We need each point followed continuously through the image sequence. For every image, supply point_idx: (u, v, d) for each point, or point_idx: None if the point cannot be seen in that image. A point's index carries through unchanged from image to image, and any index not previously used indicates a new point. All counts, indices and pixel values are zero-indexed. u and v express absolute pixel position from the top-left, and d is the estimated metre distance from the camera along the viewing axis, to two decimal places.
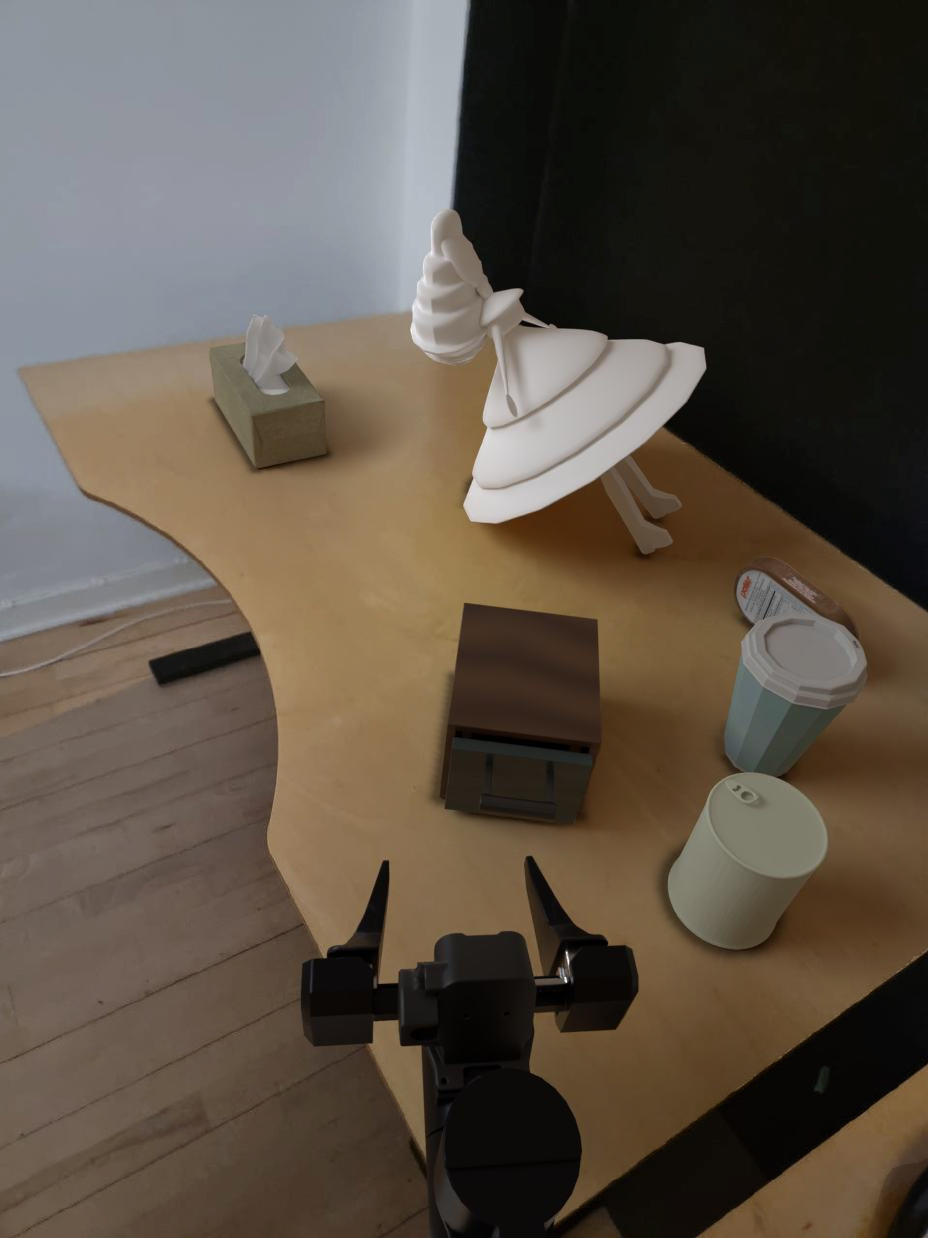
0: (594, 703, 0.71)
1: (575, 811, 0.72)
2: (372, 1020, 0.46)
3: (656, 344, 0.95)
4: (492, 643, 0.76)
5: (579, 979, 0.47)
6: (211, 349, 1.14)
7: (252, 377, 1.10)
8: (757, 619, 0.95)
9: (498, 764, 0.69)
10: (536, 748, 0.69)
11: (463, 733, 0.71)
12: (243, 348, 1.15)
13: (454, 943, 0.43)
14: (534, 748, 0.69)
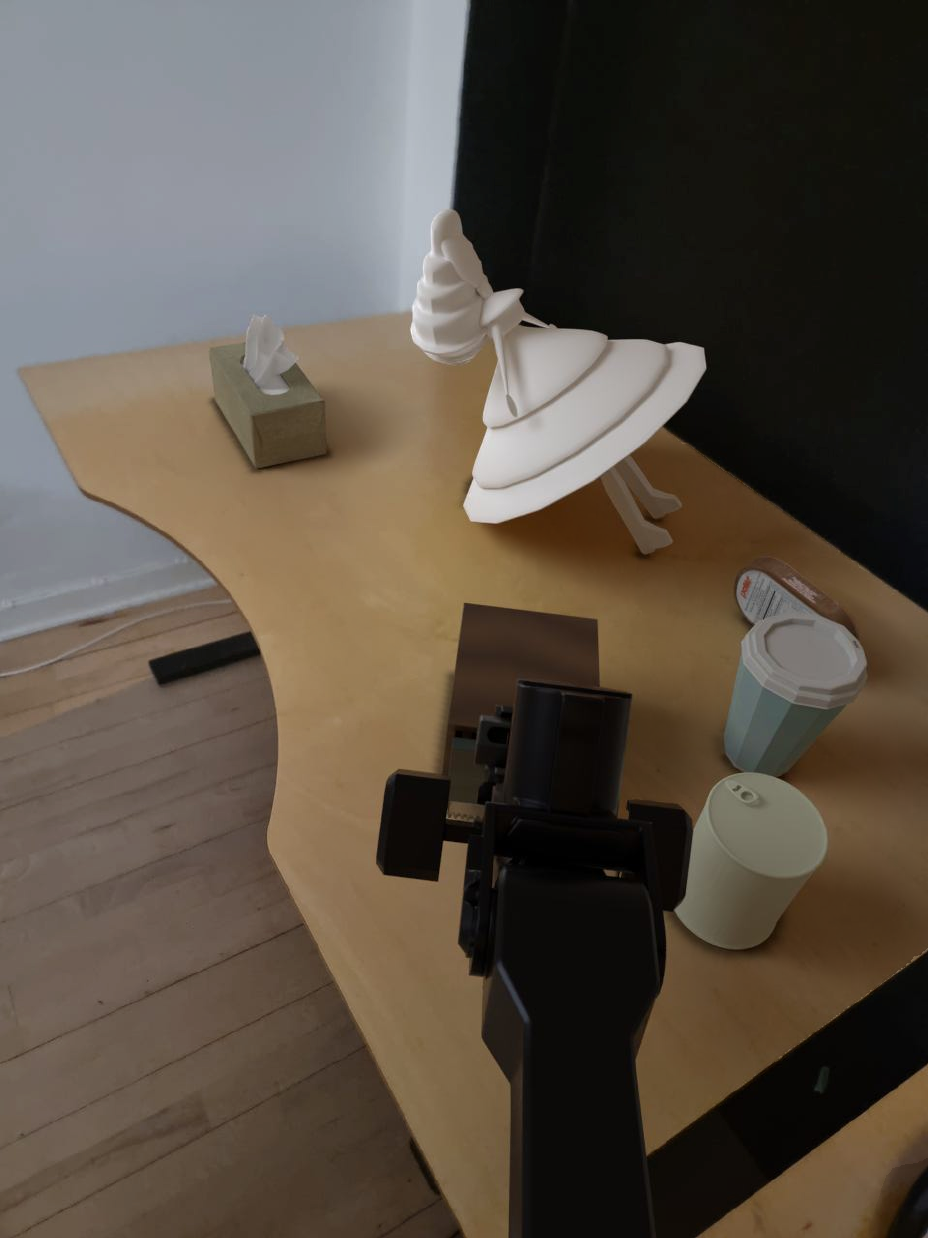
0: None
1: None
2: (445, 813, 0.50)
3: (656, 344, 0.95)
4: (492, 643, 0.76)
5: (635, 804, 0.51)
6: (211, 349, 1.14)
7: (252, 377, 1.10)
8: (757, 619, 0.95)
9: None
10: None
11: (463, 733, 0.71)
12: (243, 348, 1.15)
13: None
14: None
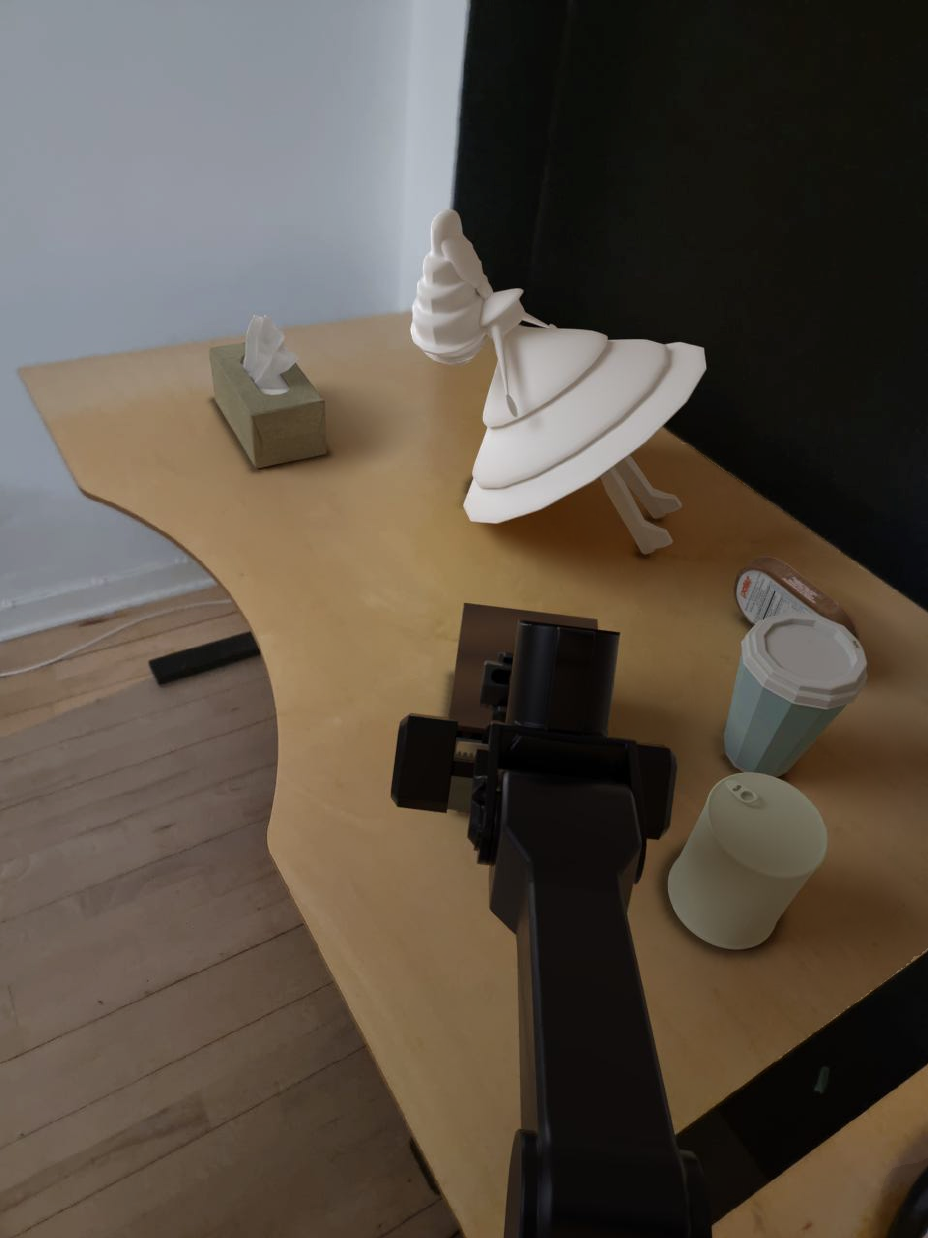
0: None
1: None
2: (453, 750, 0.56)
3: (656, 344, 0.95)
4: (492, 643, 0.76)
5: None
6: (211, 349, 1.14)
7: (252, 377, 1.10)
8: (757, 619, 0.95)
9: None
10: None
11: (463, 733, 0.71)
12: (243, 348, 1.15)
13: None
14: None
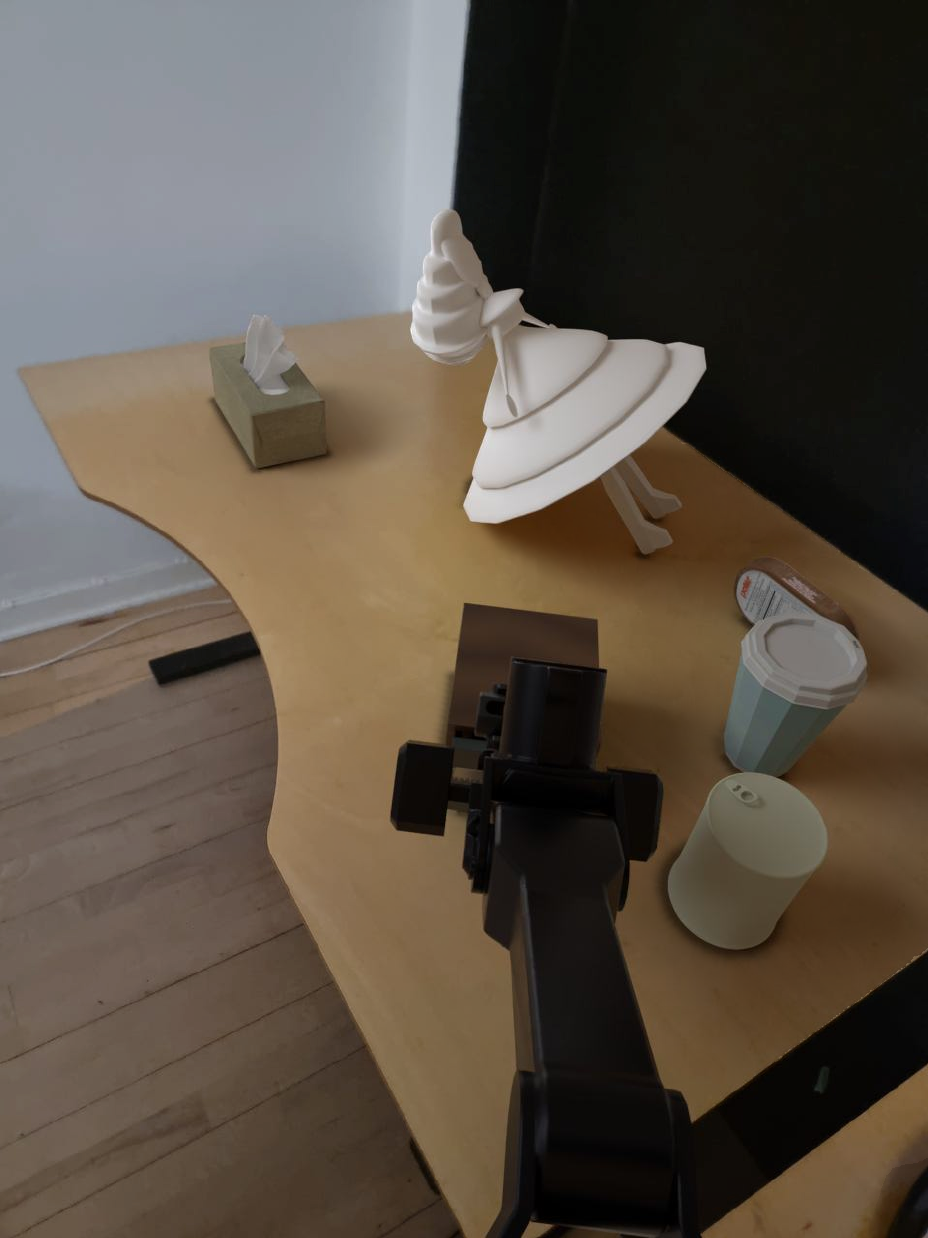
0: None
1: None
2: (450, 777, 0.58)
3: (656, 344, 0.95)
4: (492, 643, 0.76)
5: (614, 769, 0.59)
6: (211, 349, 1.14)
7: (252, 377, 1.10)
8: (757, 619, 0.95)
9: None
10: None
11: (463, 733, 0.71)
12: (243, 348, 1.15)
13: None
14: None
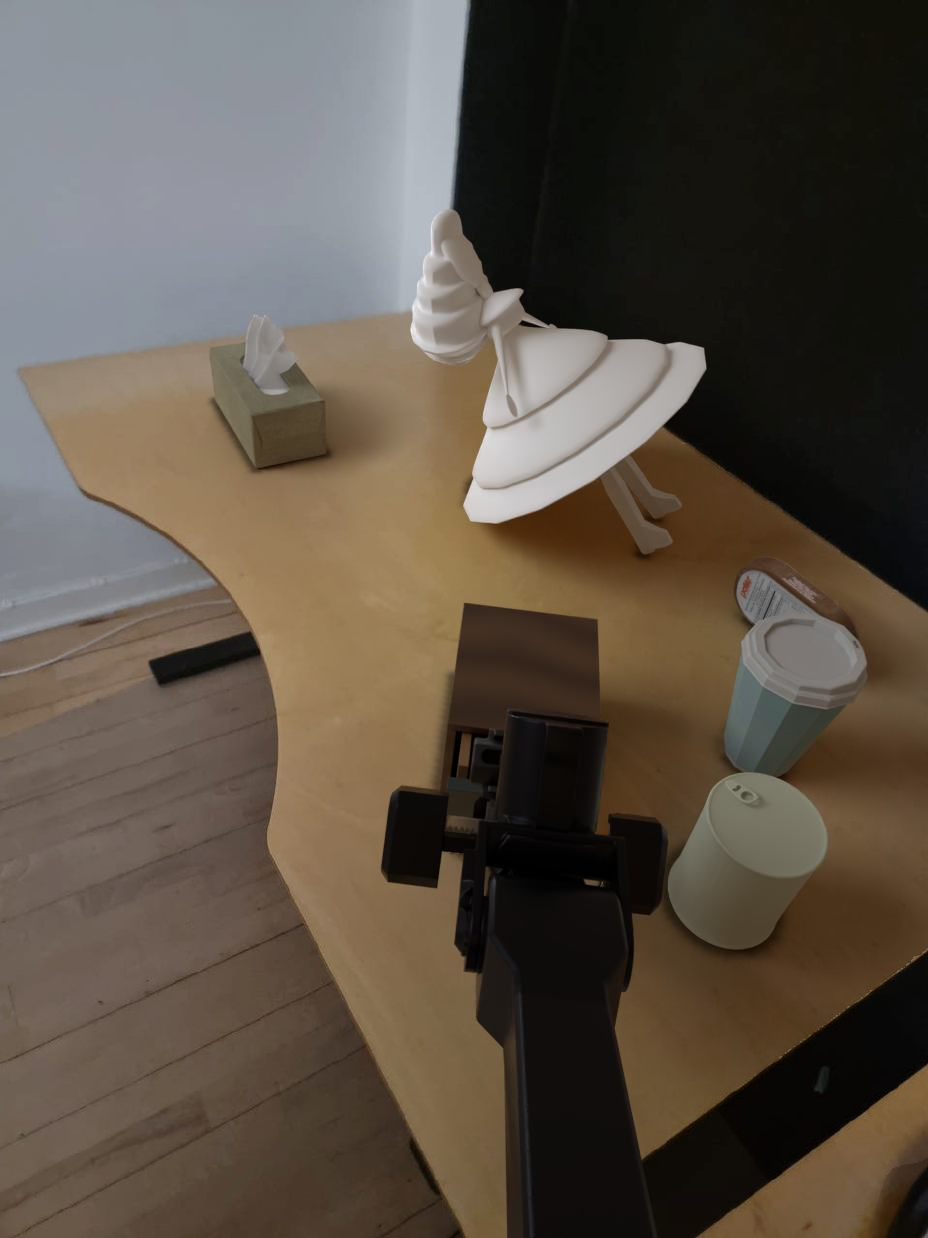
0: (594, 703, 0.71)
1: None
2: (444, 826, 0.55)
3: (656, 344, 0.95)
4: (492, 643, 0.76)
5: (616, 818, 0.56)
6: (211, 349, 1.14)
7: (252, 377, 1.10)
8: (757, 619, 0.95)
9: None
10: None
11: (459, 772, 0.68)
12: (243, 348, 1.15)
13: None
14: None
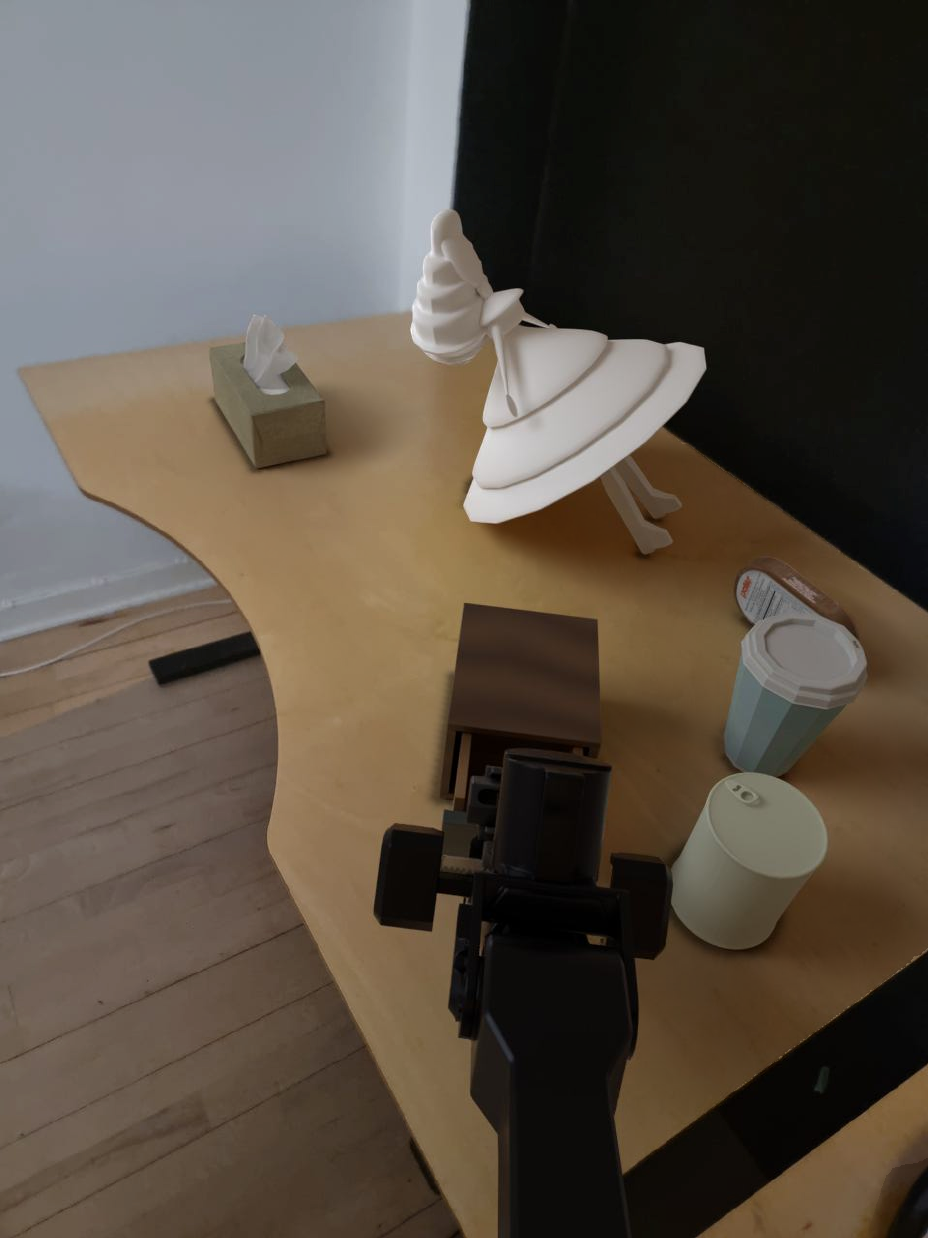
0: (594, 703, 0.71)
1: None
2: (439, 868, 0.53)
3: (656, 344, 0.95)
4: (492, 643, 0.76)
5: (618, 858, 0.54)
6: (211, 349, 1.14)
7: (252, 377, 1.10)
8: (757, 619, 0.95)
9: None
10: None
11: (455, 804, 0.66)
12: (243, 348, 1.15)
13: None
14: None
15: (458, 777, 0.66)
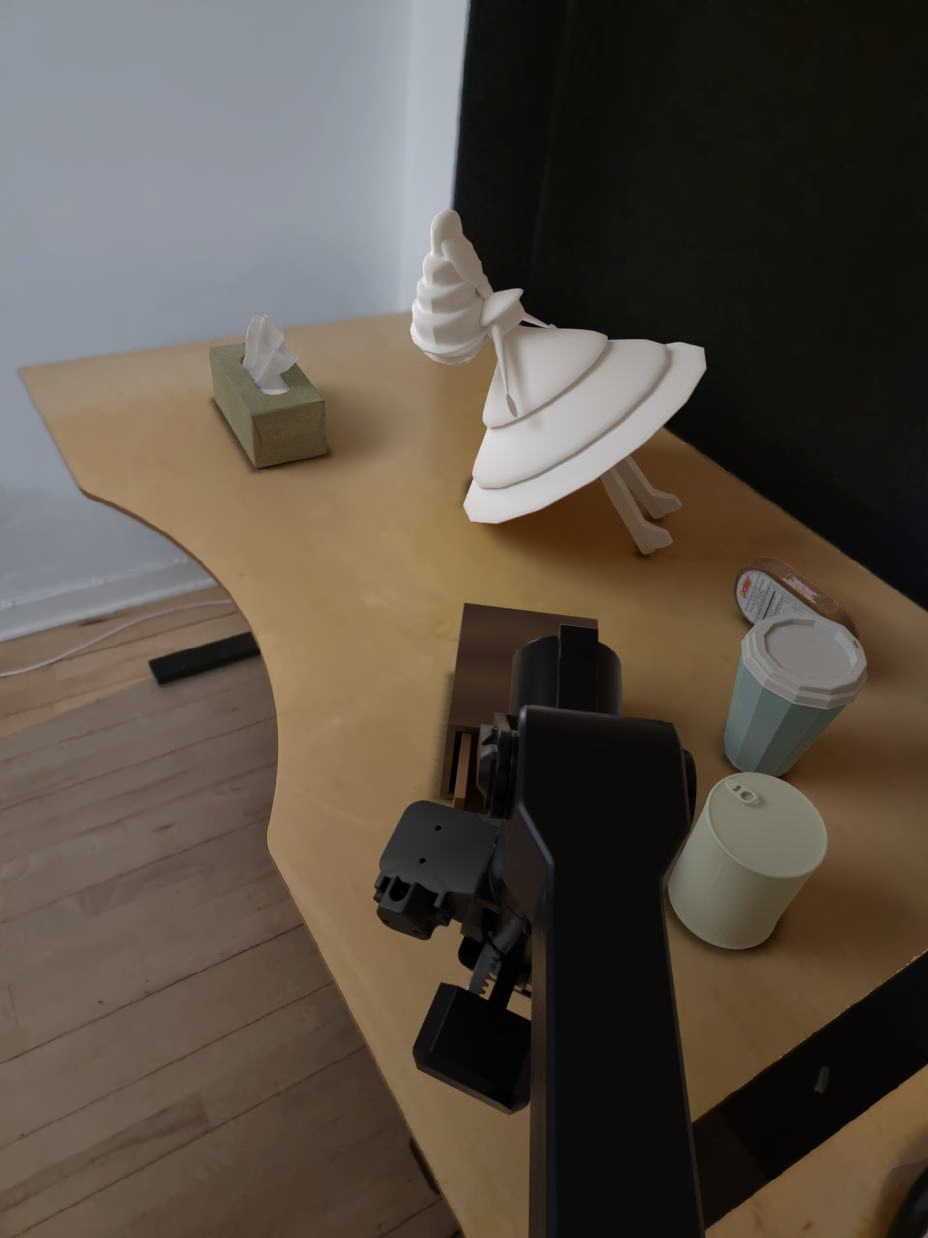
0: None
1: None
2: (473, 994, 0.43)
3: (656, 344, 0.95)
4: (492, 643, 0.76)
5: None
6: (211, 349, 1.14)
7: (252, 377, 1.10)
8: (757, 619, 0.95)
9: None
10: None
11: (455, 804, 0.66)
12: (243, 348, 1.15)
13: None
14: None
15: (458, 777, 0.66)
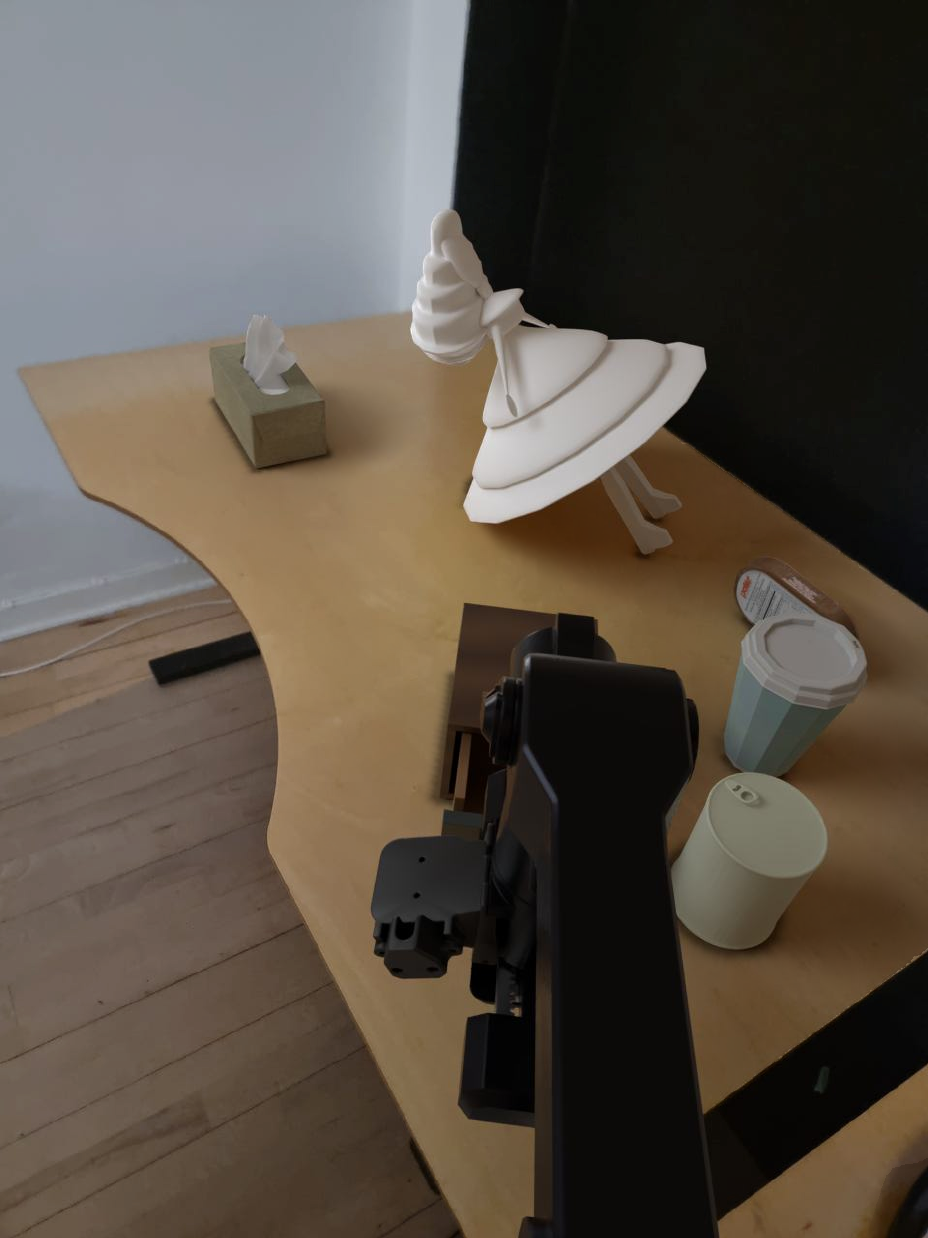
0: None
1: None
2: (506, 1016, 0.40)
3: (656, 344, 0.95)
4: (492, 643, 0.76)
5: (485, 818, 0.49)
6: (211, 349, 1.14)
7: (252, 377, 1.10)
8: (757, 619, 0.95)
9: None
10: None
11: (455, 804, 0.66)
12: (243, 348, 1.15)
13: None
14: None
15: (458, 777, 0.66)
